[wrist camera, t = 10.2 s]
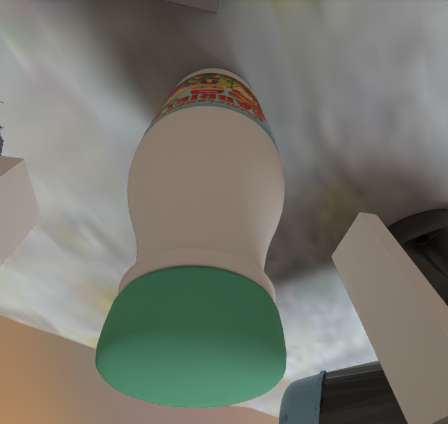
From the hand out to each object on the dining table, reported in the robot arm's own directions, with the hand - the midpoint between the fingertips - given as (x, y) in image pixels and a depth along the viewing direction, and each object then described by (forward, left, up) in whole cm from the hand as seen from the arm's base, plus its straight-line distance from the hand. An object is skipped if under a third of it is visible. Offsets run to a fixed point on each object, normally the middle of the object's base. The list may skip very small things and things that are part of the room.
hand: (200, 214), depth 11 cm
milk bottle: (0, 0, -14) cm, 14 cm away
